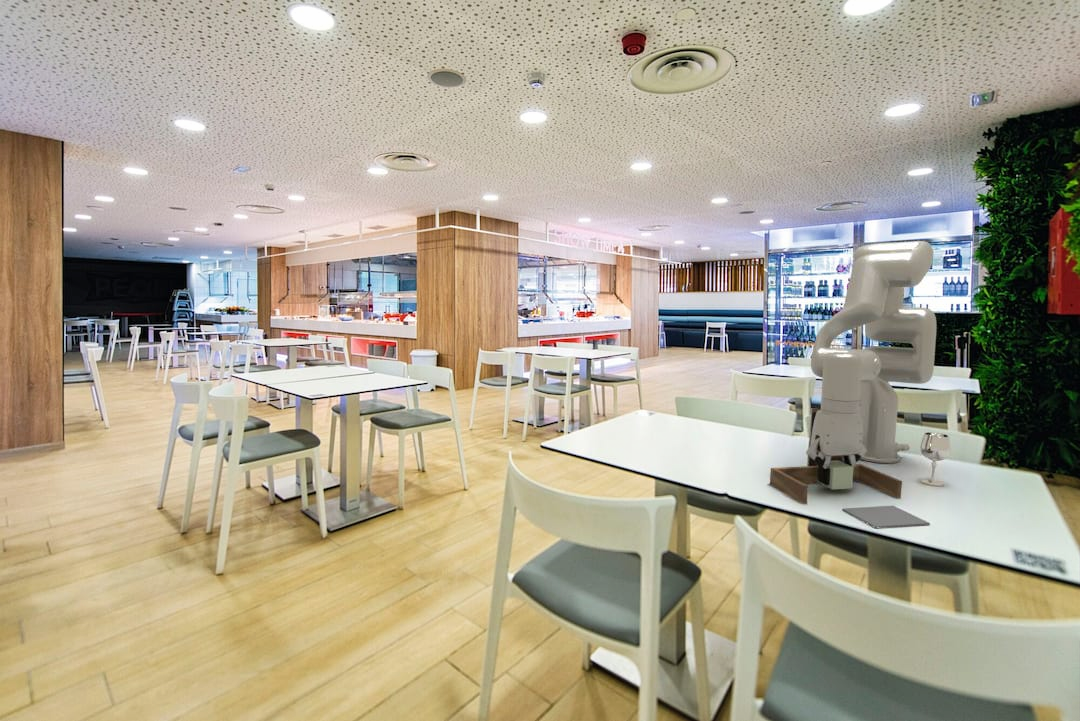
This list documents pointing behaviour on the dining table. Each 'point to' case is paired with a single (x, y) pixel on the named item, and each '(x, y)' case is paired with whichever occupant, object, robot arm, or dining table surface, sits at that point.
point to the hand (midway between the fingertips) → (834, 481)
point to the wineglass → (935, 452)
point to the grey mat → (885, 516)
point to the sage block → (840, 475)
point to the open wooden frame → (798, 477)
